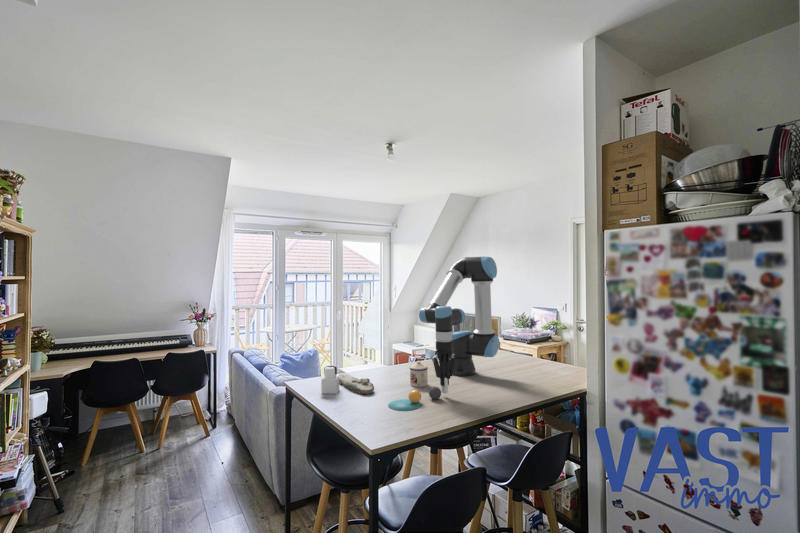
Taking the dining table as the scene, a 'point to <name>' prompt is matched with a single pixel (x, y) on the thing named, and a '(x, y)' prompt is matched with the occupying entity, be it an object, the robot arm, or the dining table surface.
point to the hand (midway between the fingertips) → (444, 392)
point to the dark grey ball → (435, 393)
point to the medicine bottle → (330, 380)
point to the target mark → (404, 405)
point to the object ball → (414, 396)
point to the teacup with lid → (418, 375)
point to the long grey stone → (356, 384)
